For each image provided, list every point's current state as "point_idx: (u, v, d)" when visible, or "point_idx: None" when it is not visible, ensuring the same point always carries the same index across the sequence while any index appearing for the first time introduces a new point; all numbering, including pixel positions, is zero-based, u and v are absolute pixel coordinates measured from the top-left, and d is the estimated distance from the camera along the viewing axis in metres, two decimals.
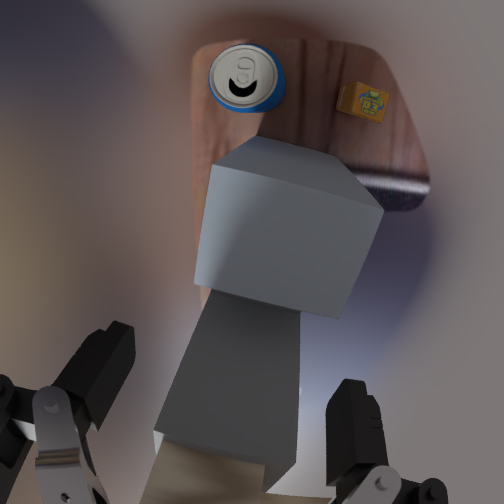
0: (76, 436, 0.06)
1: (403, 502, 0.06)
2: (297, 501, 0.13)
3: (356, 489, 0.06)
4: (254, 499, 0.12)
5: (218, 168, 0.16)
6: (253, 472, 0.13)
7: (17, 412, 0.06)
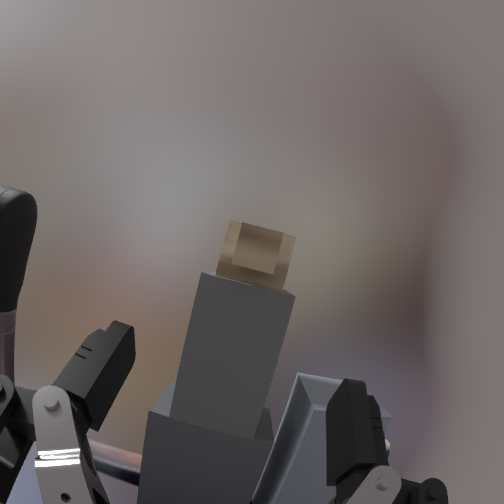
0: (76, 436, 0.06)
1: (403, 502, 0.06)
2: None
3: (356, 489, 0.06)
4: None
5: None
6: None
7: (17, 412, 0.06)
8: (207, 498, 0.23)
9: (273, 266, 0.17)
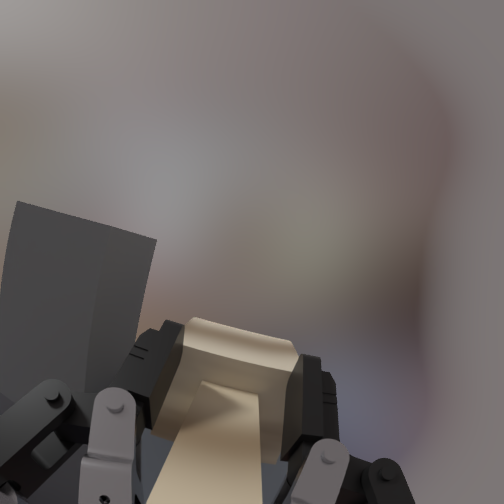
0: (133, 443, 0.06)
1: (353, 481, 0.06)
2: None
3: (302, 468, 0.06)
4: None
5: None
6: None
7: (74, 417, 0.06)
8: None
9: None
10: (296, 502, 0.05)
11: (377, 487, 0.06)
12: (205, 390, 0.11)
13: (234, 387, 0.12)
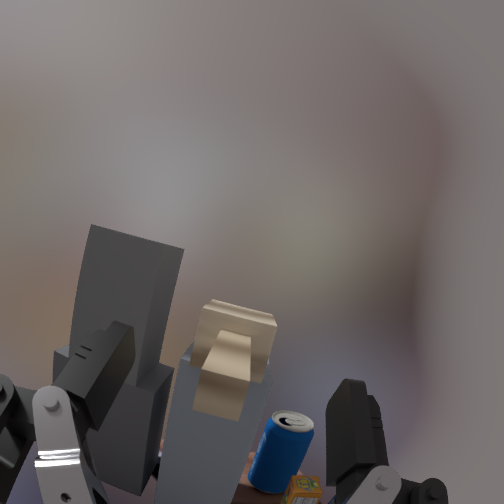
0: (76, 436, 0.06)
1: (403, 502, 0.06)
2: None
3: (356, 489, 0.06)
4: (268, 356, 0.23)
5: None
6: None
7: (17, 412, 0.06)
8: (106, 448, 0.25)
9: (237, 414, 0.13)
10: None
11: (423, 503, 0.05)
12: (223, 332, 0.22)
13: (238, 332, 0.23)
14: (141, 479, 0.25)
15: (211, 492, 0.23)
